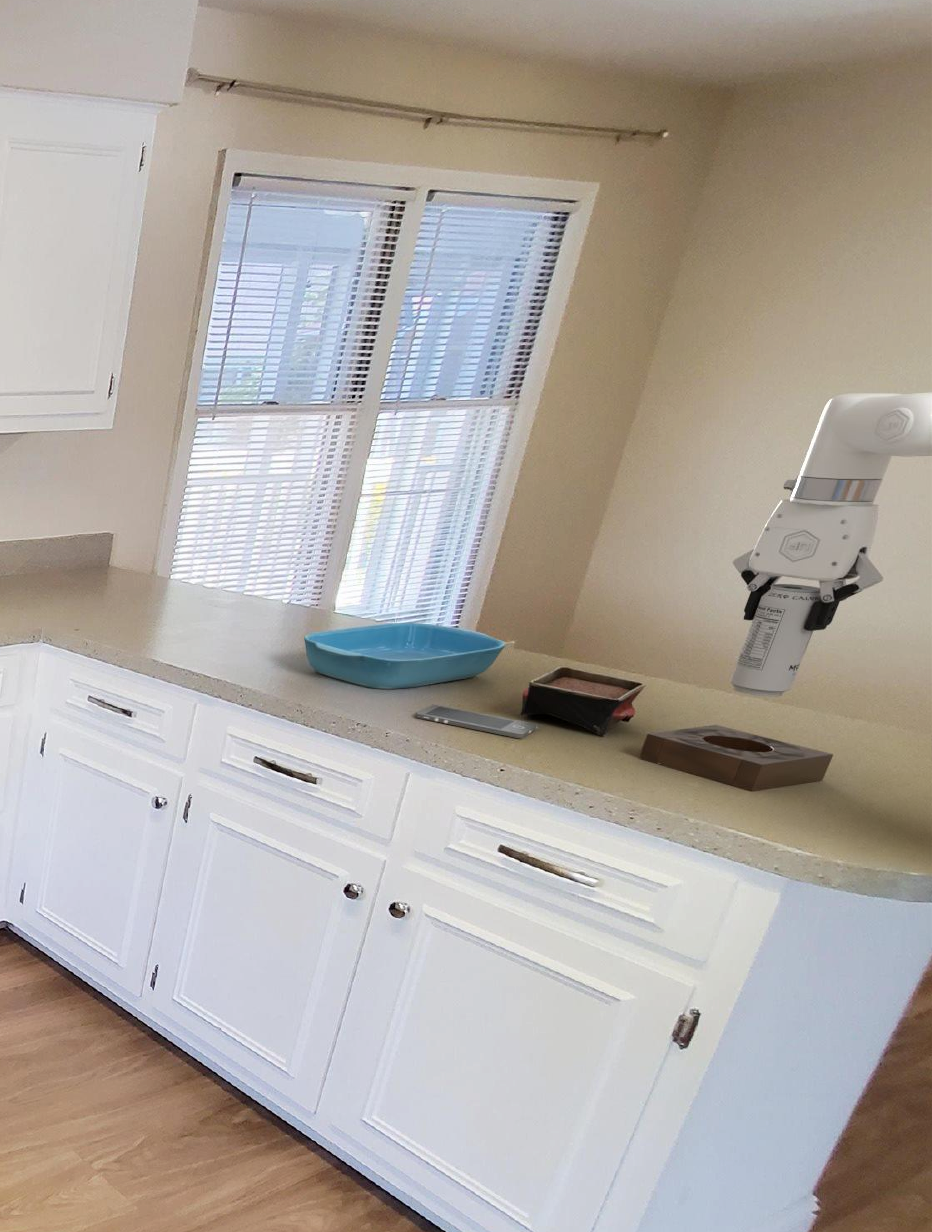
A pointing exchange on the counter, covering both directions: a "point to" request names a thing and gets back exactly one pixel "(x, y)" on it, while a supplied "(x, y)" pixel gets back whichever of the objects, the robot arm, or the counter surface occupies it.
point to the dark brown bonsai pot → (582, 698)
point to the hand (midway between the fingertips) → (783, 623)
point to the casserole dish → (401, 654)
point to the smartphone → (477, 721)
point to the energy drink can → (775, 641)
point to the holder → (736, 757)
